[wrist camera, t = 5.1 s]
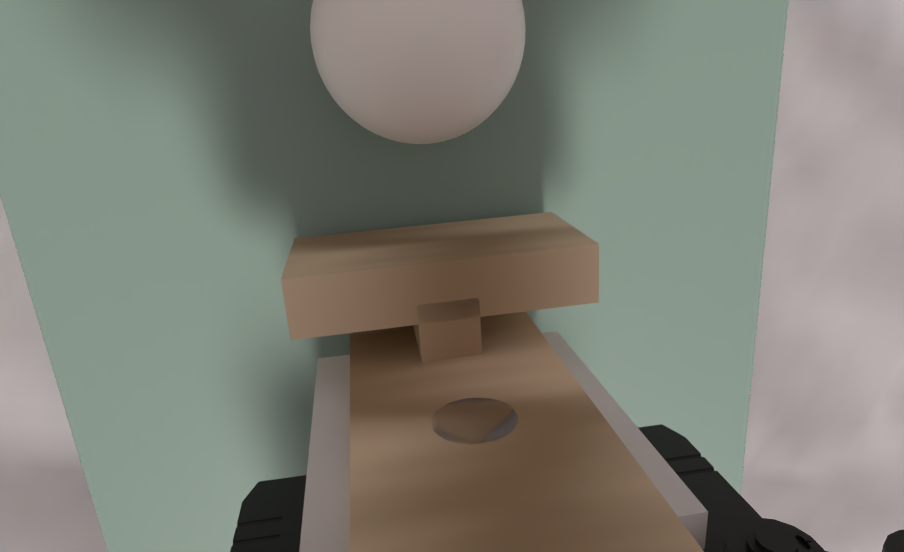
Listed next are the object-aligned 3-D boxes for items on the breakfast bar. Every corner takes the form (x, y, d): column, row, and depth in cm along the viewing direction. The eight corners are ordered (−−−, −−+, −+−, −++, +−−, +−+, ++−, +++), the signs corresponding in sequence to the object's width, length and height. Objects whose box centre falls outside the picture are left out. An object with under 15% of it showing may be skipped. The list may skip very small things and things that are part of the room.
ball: (328, 141, 14) (320, 166, 10) (302, -57, 13) (283, -113, 9) (502, 127, 14) (555, 145, 11) (494, -65, 13) (552, -122, 9)
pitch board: (139, 577, 18) (125, 611, 17) (-98, -253, 12) (-146, -288, 11) (717, 482, 20) (739, 506, 19) (778, -256, 14) (816, -285, 13)
